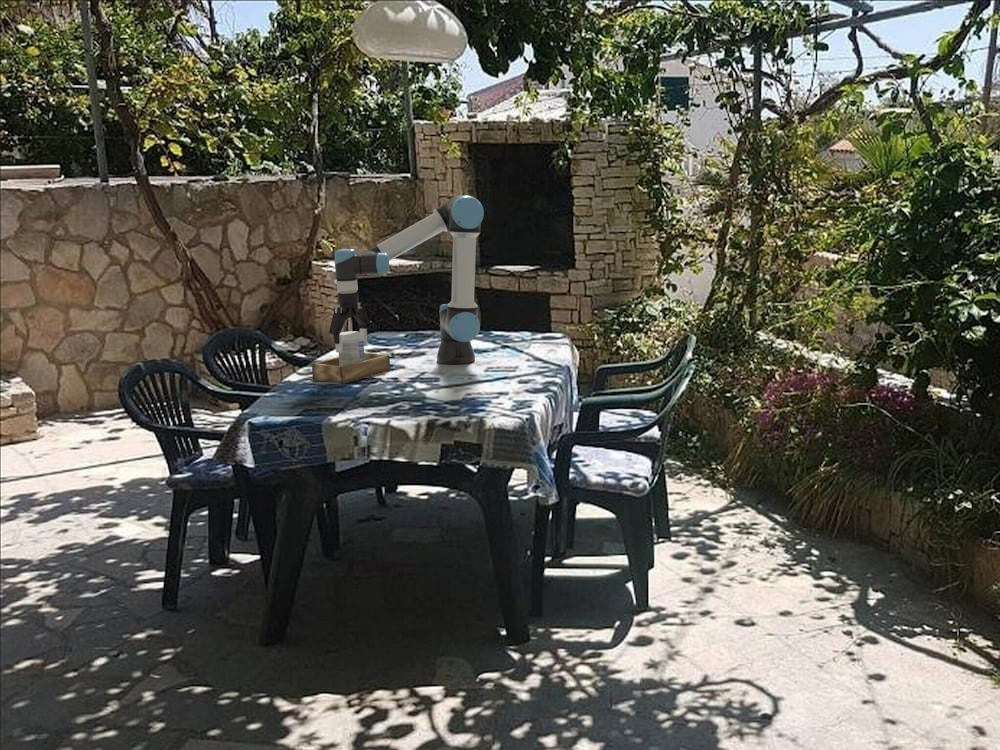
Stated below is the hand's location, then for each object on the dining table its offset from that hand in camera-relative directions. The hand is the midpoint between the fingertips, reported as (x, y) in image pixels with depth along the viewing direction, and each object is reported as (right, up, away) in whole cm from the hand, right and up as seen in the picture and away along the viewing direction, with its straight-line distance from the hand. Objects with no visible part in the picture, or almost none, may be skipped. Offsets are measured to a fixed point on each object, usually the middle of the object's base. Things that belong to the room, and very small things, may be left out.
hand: (352, 349), depth 327 cm
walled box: (0, -10, +2) cm, 10 cm away
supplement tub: (0, -9, +2) cm, 9 cm away
